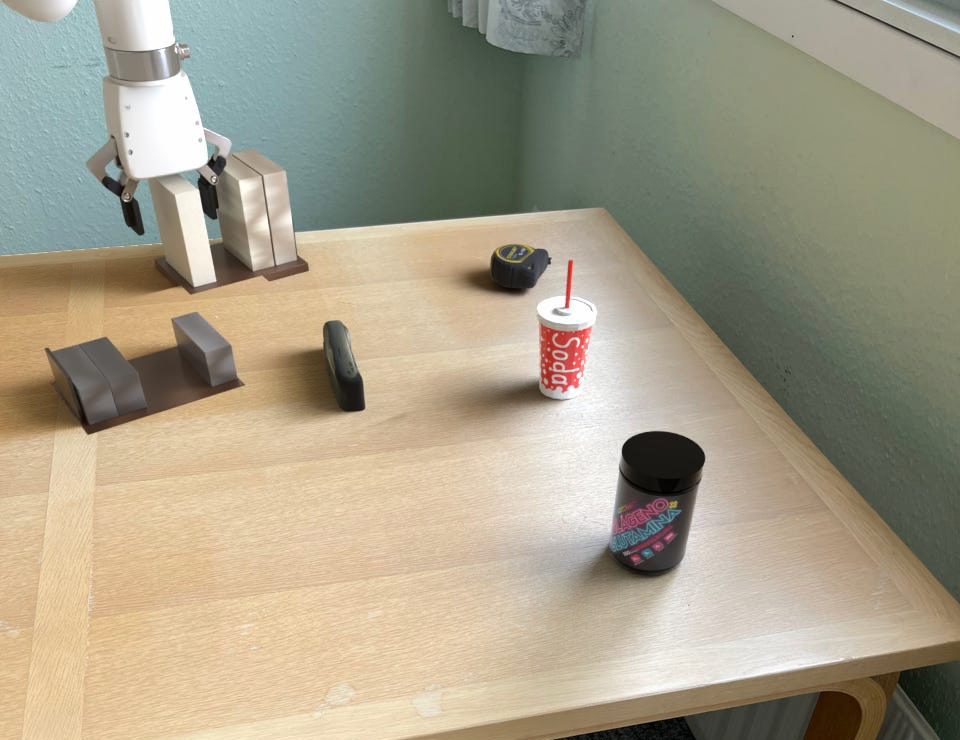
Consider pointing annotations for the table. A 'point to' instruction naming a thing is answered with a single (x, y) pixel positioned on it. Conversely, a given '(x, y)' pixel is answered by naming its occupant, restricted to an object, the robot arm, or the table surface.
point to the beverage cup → (564, 342)
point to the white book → (182, 228)
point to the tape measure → (518, 265)
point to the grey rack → (142, 375)
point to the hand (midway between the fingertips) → (174, 223)
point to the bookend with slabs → (249, 225)
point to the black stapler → (342, 367)
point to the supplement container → (655, 501)
